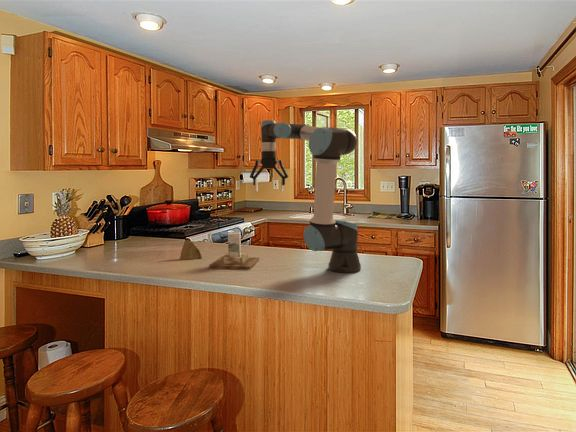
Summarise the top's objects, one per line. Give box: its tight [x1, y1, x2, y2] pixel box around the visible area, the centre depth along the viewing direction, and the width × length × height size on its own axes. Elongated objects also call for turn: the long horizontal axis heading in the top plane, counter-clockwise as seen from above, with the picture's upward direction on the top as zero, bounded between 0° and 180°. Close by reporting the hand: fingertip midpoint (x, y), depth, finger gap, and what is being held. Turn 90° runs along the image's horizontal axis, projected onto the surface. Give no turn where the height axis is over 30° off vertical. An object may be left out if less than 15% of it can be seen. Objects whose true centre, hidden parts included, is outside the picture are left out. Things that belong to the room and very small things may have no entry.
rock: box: [179, 239, 202, 261], centre depth 229 cm, size 11×9×10 cm
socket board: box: [208, 252, 260, 270], centre depth 216 cm, size 20×20×4 cm
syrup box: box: [227, 231, 242, 257], centre depth 215 cm, size 6×6×14 cm
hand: (269, 191), depth 230 cm, fingers open, 13 cm apart
